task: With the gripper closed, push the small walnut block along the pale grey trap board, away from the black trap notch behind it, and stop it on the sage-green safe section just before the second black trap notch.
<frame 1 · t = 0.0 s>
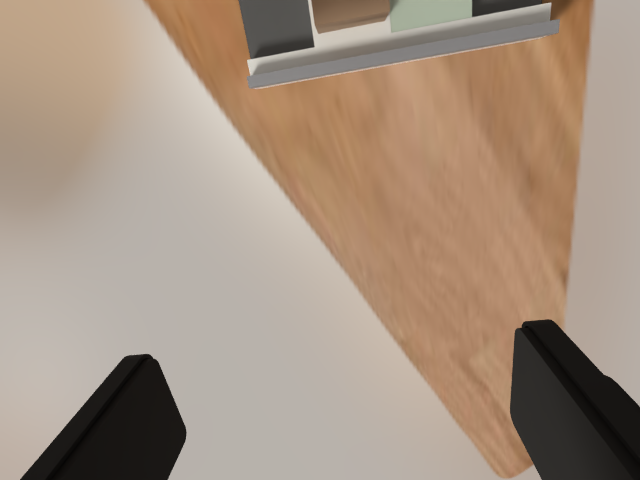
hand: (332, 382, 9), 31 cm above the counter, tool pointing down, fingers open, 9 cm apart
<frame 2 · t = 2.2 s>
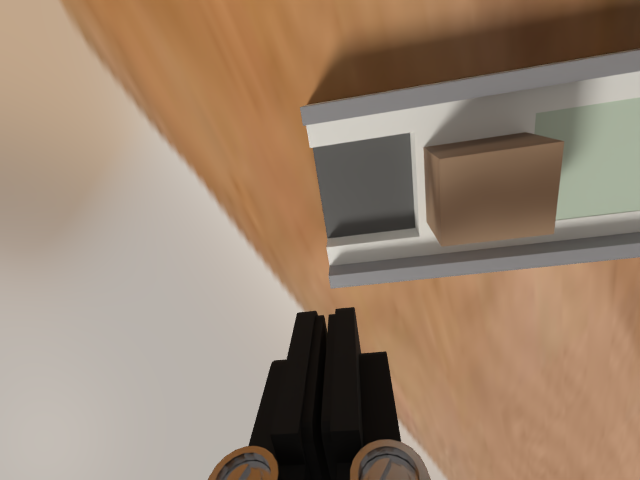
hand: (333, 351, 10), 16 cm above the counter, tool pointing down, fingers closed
walnut block: (473, 179, 22), point 2 cm above the counter, touching trap board
trap board: (516, 165, 23), on the counter
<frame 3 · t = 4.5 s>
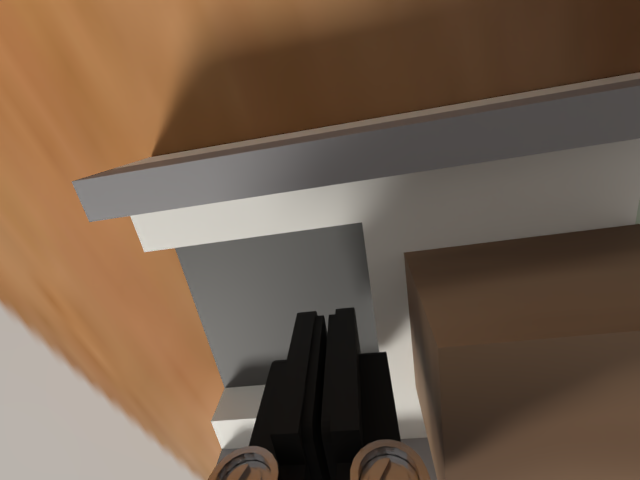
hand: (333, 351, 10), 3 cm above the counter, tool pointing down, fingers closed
walnut block: (512, 315, 10), point 2 cm above the counter
trap board: (577, 270, 12), on the counter
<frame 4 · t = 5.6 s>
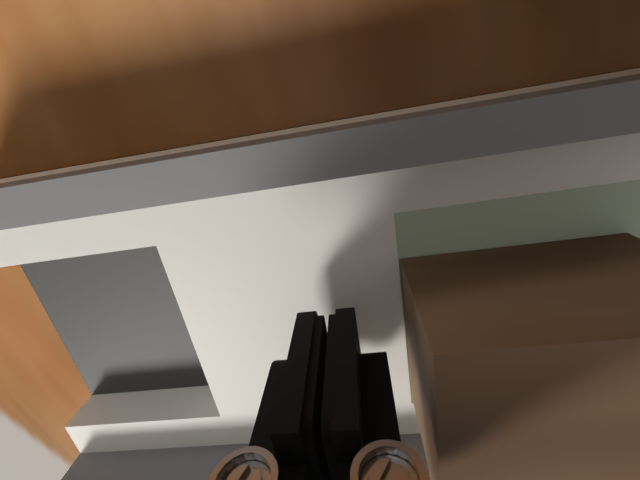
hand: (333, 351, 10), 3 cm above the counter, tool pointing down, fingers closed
walnut block: (505, 321, 11), point 2 cm above the counter, touching gripper
trap board: (395, 286, 13), on the counter
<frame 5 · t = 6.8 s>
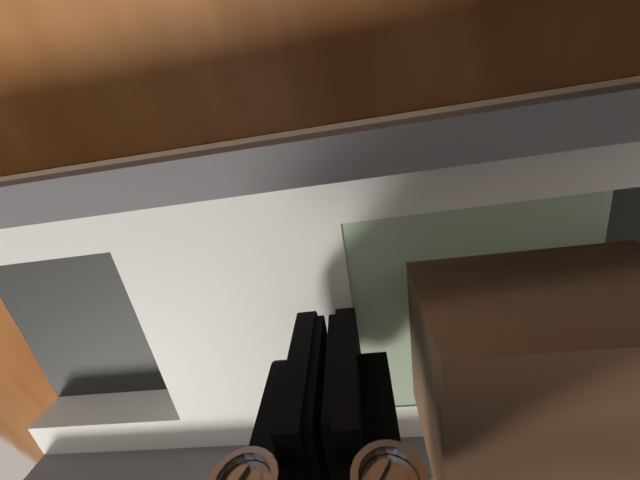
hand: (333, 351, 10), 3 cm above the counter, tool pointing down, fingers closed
walnut block: (510, 325, 11), point 2 cm above the counter, touching trap board
trap board: (353, 293, 13), on the counter
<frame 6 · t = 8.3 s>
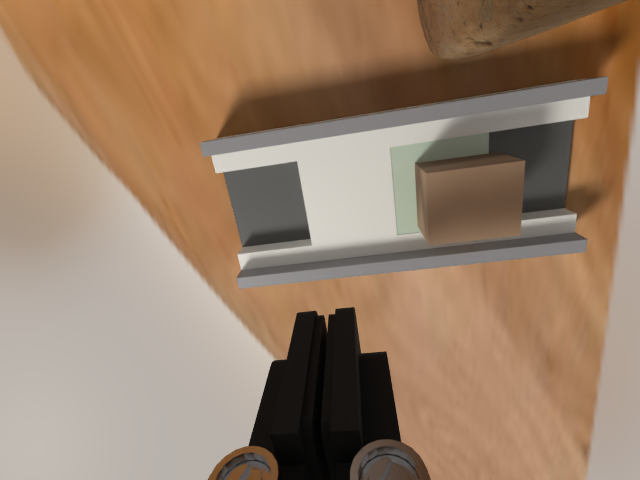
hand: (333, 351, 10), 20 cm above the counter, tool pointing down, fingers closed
walnut block: (456, 190, 26), point 2 cm above the counter, touching trap board
trap board: (390, 187, 29), on the counter
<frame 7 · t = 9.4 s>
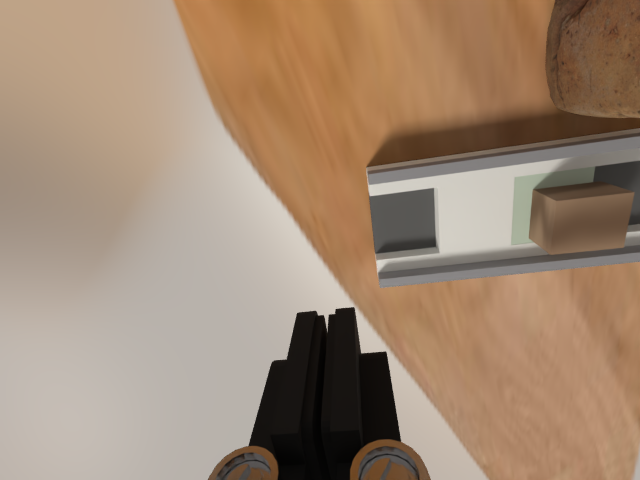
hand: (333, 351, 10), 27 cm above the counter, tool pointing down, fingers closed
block: (582, 42, 30), on the counter
walnut block: (563, 210, 33), point 2 cm above the counter, touching trap board
trap board: (504, 206, 35), on the counter
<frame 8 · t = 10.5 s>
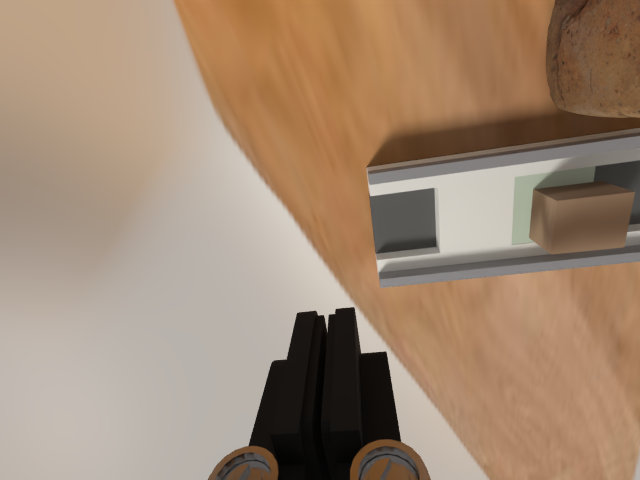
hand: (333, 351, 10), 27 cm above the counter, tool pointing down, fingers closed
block: (582, 41, 30), on the counter
walnut block: (563, 210, 33), point 2 cm above the counter, touching trap board
trap board: (504, 206, 35), on the counter
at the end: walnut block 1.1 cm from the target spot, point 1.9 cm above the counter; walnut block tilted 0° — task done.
